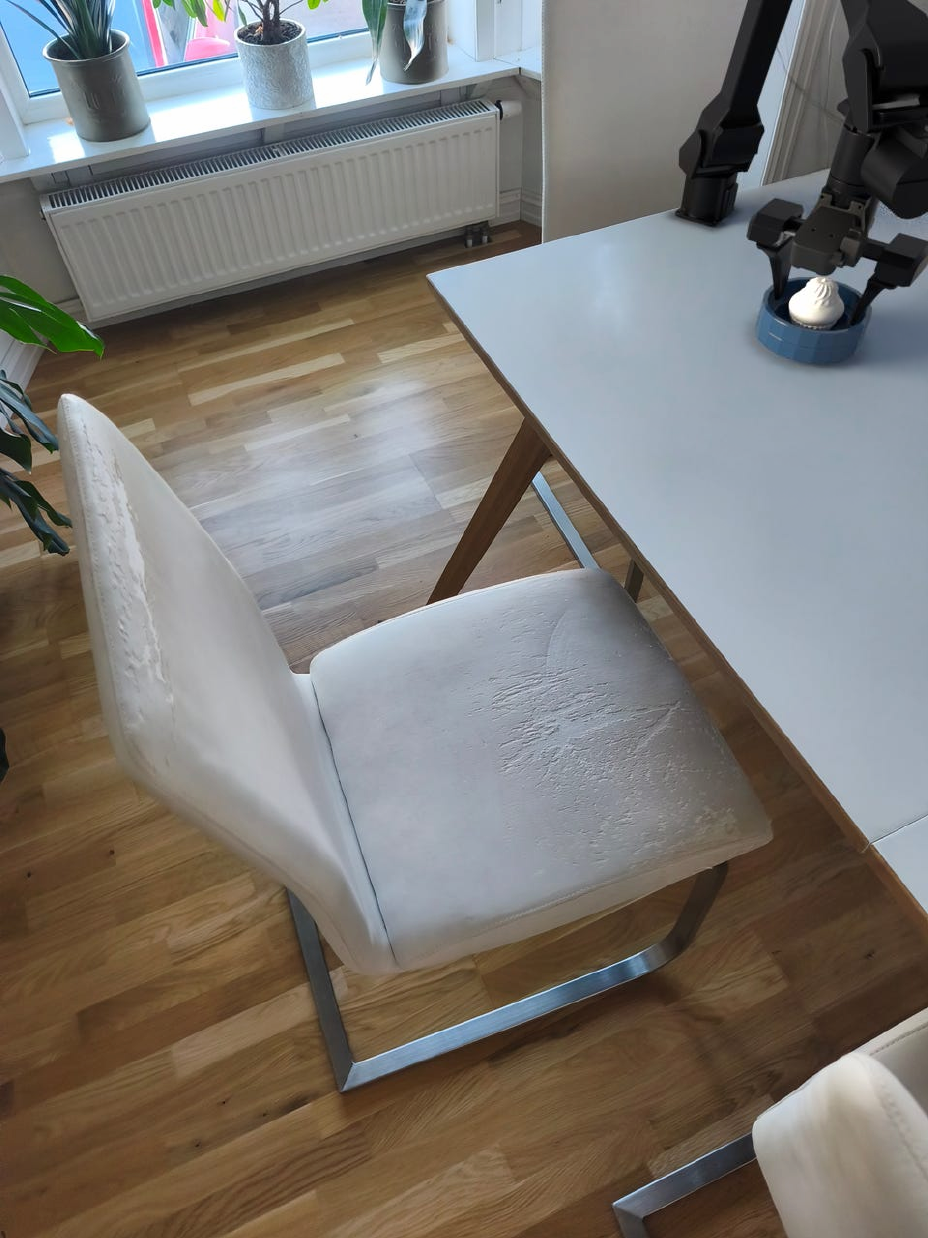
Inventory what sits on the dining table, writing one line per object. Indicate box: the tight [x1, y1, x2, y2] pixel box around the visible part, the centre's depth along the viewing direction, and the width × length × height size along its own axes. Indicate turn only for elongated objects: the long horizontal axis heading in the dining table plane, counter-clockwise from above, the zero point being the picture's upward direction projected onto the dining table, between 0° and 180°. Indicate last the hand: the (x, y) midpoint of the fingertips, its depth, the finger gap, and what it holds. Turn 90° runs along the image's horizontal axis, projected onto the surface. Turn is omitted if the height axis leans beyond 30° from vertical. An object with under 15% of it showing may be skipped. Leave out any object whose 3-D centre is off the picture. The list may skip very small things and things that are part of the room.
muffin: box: [789, 276, 844, 331], centre depth 100 cm, size 6×6×7 cm
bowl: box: [754, 276, 873, 364], centre depth 101 cm, size 12×12×4 cm
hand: (814, 311), depth 100 cm, fingers open, 9 cm apart
